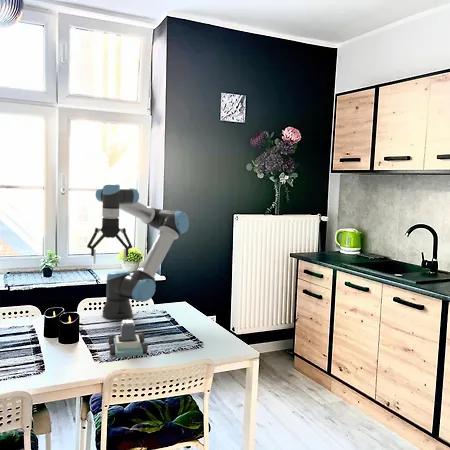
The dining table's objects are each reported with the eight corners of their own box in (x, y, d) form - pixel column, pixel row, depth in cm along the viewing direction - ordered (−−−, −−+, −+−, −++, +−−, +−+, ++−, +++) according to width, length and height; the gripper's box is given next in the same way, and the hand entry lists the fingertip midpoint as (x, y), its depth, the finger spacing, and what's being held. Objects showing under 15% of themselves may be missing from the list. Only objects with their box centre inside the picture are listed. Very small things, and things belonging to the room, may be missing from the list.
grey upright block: (121, 346, 198) (121, 323, 197) (120, 342, 203) (120, 319, 202) (134, 346, 199) (135, 323, 198) (133, 341, 205) (133, 319, 203)
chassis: (108, 341, 208) (108, 332, 207) (142, 339, 212) (143, 330, 211) (110, 356, 191) (110, 347, 190) (147, 354, 195) (148, 345, 194)
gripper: (82, 217, 211) (81, 264, 213) (138, 218, 218) (137, 264, 220) (82, 216, 218) (81, 261, 220) (137, 217, 225) (136, 261, 227)
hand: (109, 263), depth 220 cm, fingers open, 13 cm apart
